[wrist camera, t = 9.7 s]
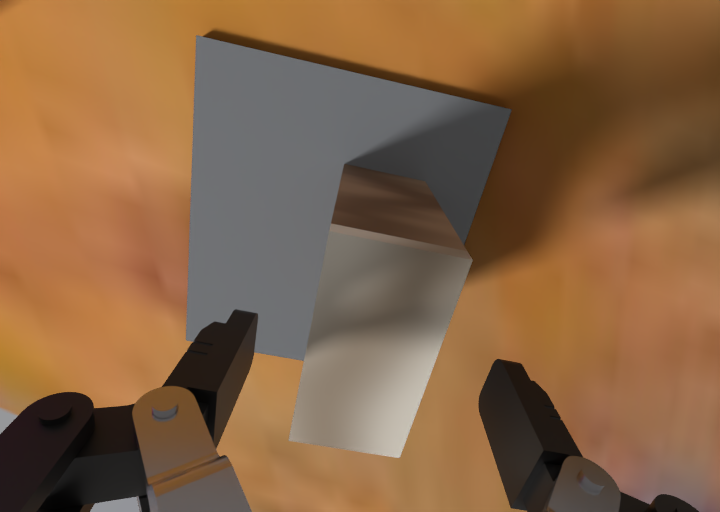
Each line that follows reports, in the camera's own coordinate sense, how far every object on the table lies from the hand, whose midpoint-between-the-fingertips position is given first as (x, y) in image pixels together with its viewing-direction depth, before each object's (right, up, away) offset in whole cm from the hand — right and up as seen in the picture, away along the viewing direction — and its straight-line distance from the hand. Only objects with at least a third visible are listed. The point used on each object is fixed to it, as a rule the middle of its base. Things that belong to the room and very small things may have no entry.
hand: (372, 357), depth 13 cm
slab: (0, +4, +7) cm, 8 cm away
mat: (-2, +4, +8) cm, 9 cm away
